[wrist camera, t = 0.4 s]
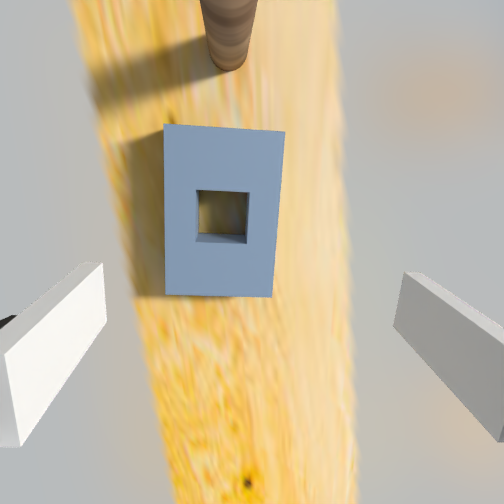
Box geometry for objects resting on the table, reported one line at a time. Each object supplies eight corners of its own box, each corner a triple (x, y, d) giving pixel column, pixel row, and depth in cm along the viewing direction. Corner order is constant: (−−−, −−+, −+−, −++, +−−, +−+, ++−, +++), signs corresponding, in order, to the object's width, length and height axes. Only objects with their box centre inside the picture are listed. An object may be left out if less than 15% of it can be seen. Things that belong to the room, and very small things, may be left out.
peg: (209, 26, 36) (192, -92, 18) (248, 29, 36) (267, -83, 19) (208, 69, 37) (191, -4, 19) (246, 72, 37) (262, 3, 20)
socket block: (170, 126, 38) (163, 123, 34) (278, 133, 39) (285, 131, 35) (171, 280, 43) (165, 294, 39) (267, 283, 44) (271, 297, 40)
